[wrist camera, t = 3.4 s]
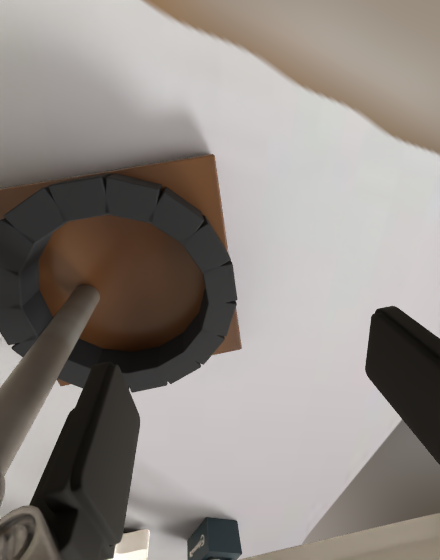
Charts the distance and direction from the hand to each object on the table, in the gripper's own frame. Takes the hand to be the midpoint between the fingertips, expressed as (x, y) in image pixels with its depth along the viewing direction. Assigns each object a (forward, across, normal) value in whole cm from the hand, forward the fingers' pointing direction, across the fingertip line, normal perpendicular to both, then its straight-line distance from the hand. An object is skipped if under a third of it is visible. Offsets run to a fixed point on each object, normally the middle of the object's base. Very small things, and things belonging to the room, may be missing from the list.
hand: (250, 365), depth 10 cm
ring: (+9, +6, 0) cm, 11 cm away
